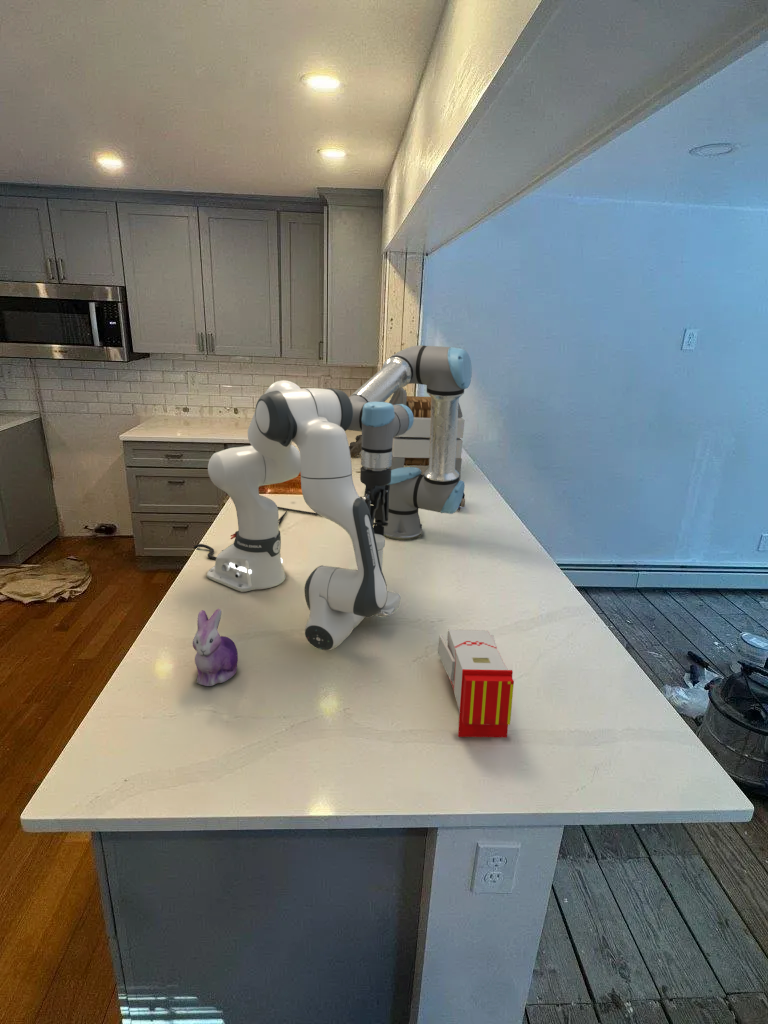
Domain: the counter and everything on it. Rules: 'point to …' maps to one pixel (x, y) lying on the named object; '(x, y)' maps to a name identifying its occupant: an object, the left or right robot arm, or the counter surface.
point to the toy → (478, 682)
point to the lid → (380, 541)
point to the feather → (282, 518)
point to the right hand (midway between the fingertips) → (372, 553)
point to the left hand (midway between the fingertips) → (372, 583)
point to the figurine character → (462, 502)
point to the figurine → (213, 651)
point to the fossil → (356, 446)
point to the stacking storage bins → (419, 433)
